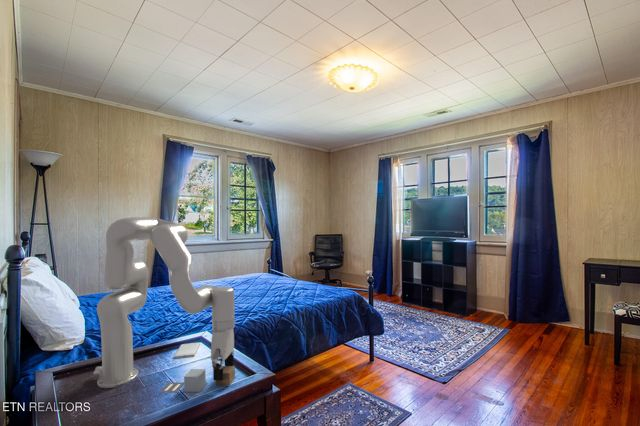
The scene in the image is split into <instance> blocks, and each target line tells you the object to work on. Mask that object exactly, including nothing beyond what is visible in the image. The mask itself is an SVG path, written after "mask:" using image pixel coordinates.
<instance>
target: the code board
mask: <svg viewBox="0 0 640 426" xmlns="http://www.w3.org/2000/svg"><path fill="white" fill-rule="evenodd" d="M207 384H208V382H206V384H205V385H204V386H203V388H202V389H201V390H200V391H199V392H184V390H183V391H182V393H183V394H186V393H187V394H200V393H201V392H202V391H203V390H204V389H205V388H206V386H207ZM182 387H184V382H170V381H169V382H168V383H167V384H166V385H165V386H164V387H163V388H161V390H160V391H159V393H175V394H176V393H178V391H179V390H180V389H182Z"/></svg>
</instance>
